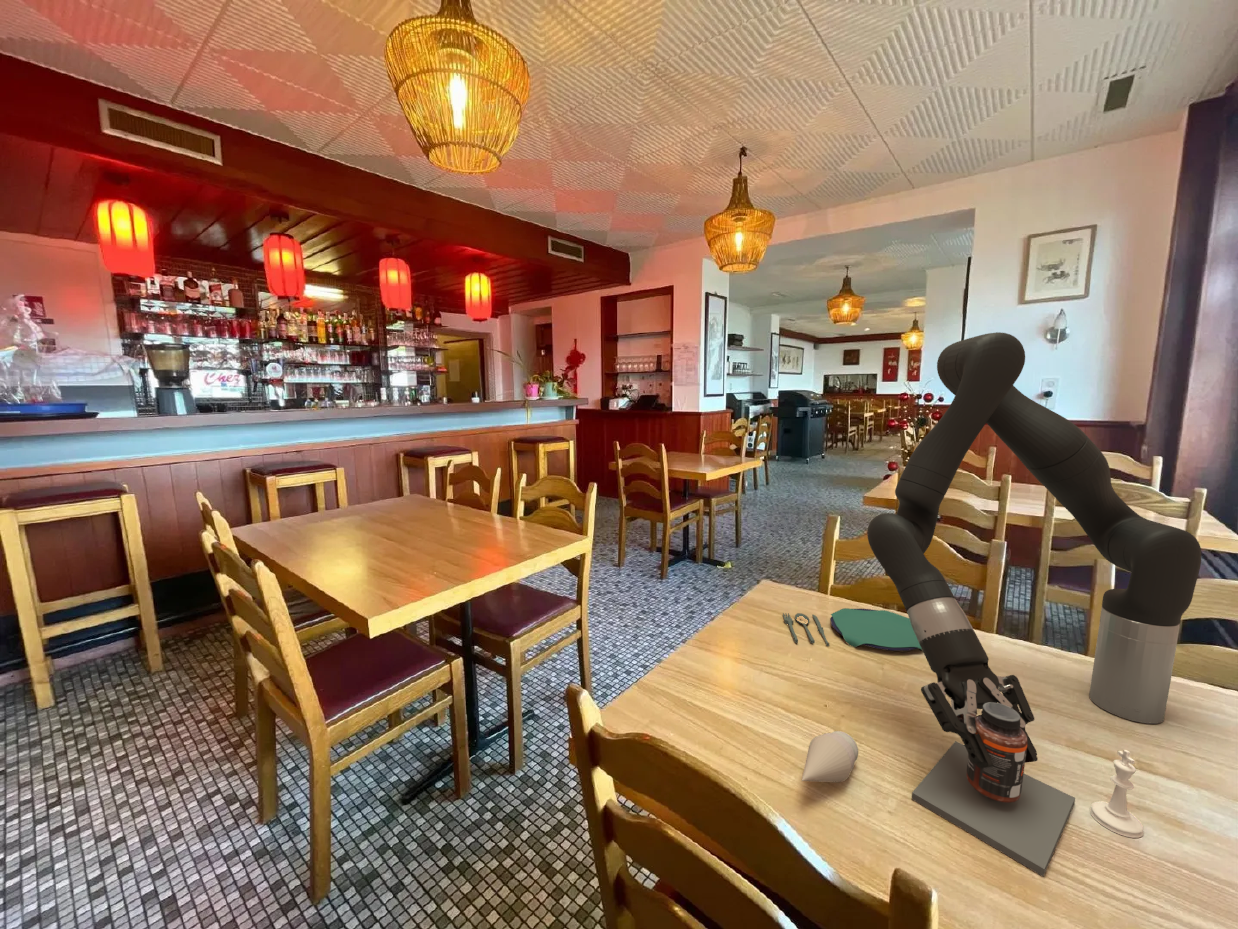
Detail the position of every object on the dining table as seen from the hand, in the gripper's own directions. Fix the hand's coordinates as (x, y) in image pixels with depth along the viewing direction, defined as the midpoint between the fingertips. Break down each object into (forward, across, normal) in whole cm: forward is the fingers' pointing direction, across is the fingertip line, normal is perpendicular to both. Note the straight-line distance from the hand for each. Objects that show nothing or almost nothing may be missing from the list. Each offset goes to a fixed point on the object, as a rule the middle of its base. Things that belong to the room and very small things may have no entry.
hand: (1008, 764), depth 64 cm
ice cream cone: (-1, -20, +11) cm, 23 cm away
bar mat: (+4, 0, +6) cm, 7 cm away
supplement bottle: (+2, 0, +5) cm, 5 cm away
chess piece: (+8, +13, +2) cm, 15 cm away
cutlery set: (-29, +10, +40) cm, 50 cm away
